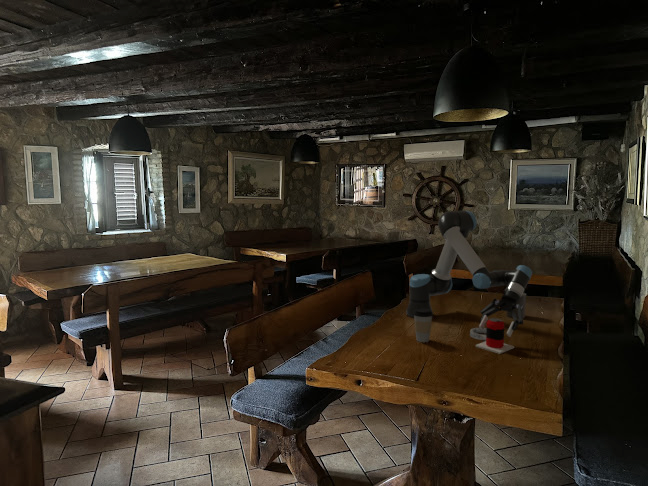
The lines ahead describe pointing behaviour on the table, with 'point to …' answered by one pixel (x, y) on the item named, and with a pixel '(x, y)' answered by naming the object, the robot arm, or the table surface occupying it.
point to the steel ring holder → (478, 336)
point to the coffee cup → (422, 324)
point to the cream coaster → (496, 350)
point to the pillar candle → (522, 301)
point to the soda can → (495, 333)
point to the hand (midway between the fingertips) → (494, 331)
